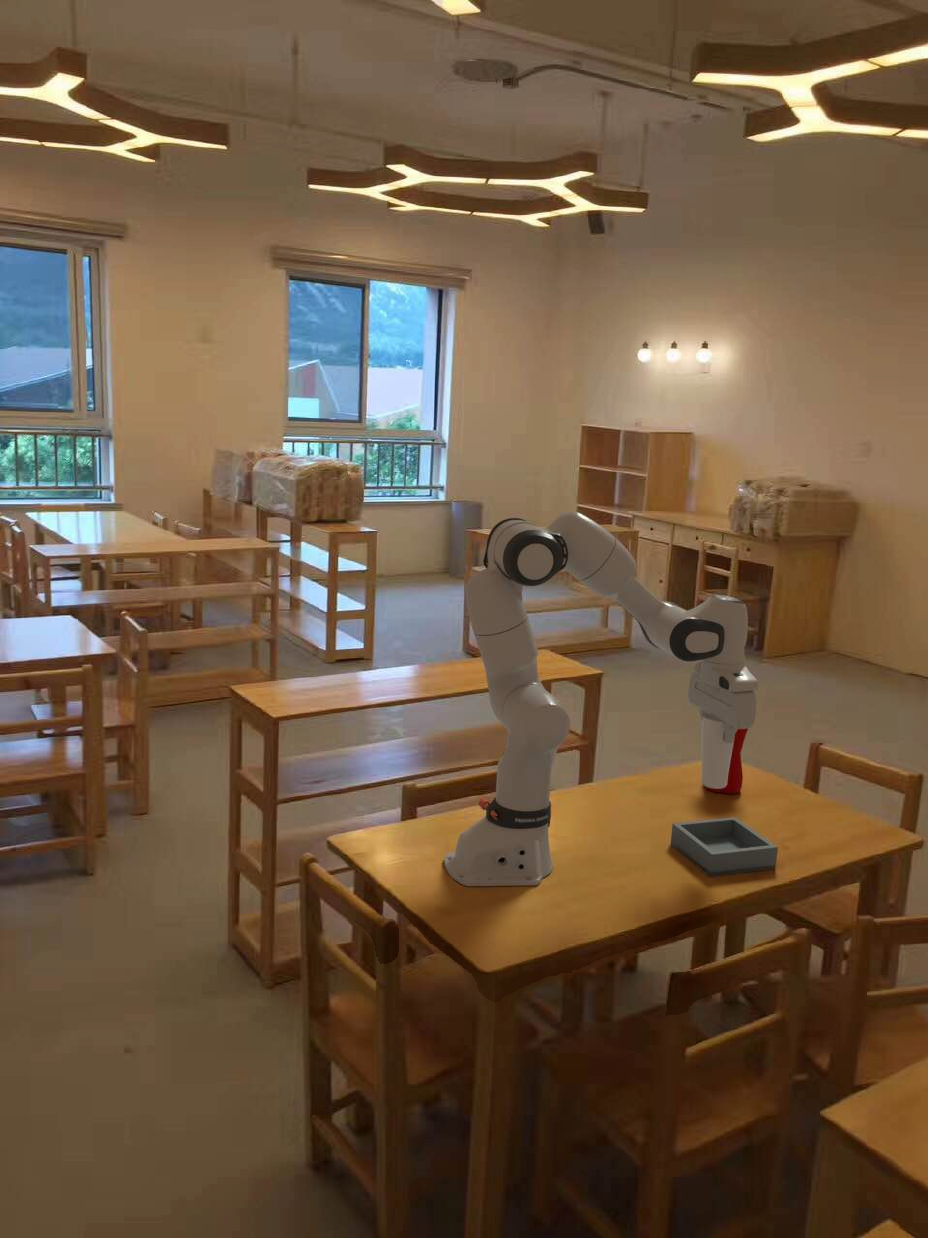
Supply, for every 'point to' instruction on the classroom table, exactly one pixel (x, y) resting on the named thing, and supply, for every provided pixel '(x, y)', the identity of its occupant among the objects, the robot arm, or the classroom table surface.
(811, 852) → the classroom table surface
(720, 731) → the drinking glass
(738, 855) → the bin
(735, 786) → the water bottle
